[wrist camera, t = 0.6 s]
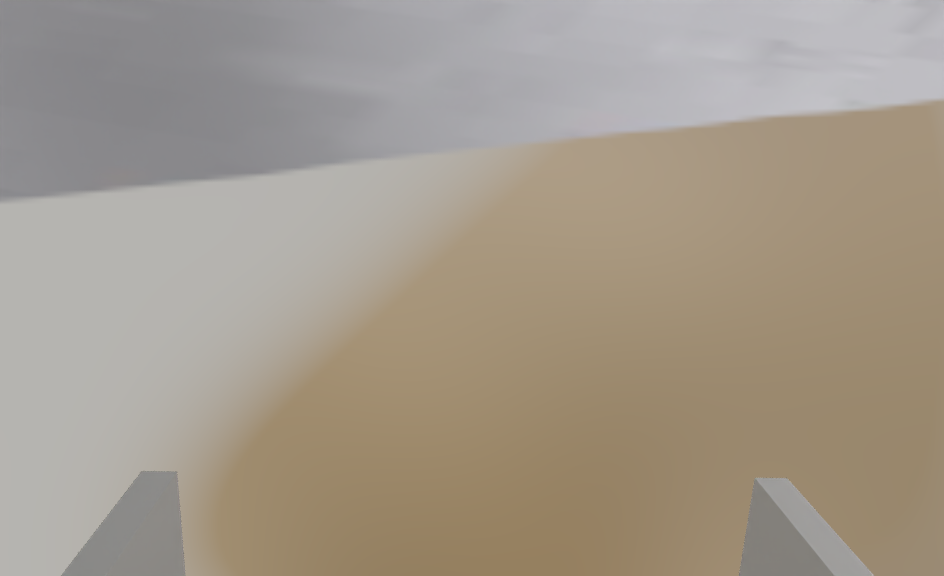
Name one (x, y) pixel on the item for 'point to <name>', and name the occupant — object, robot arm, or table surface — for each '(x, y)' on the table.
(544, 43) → the table surface
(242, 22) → the table surface
